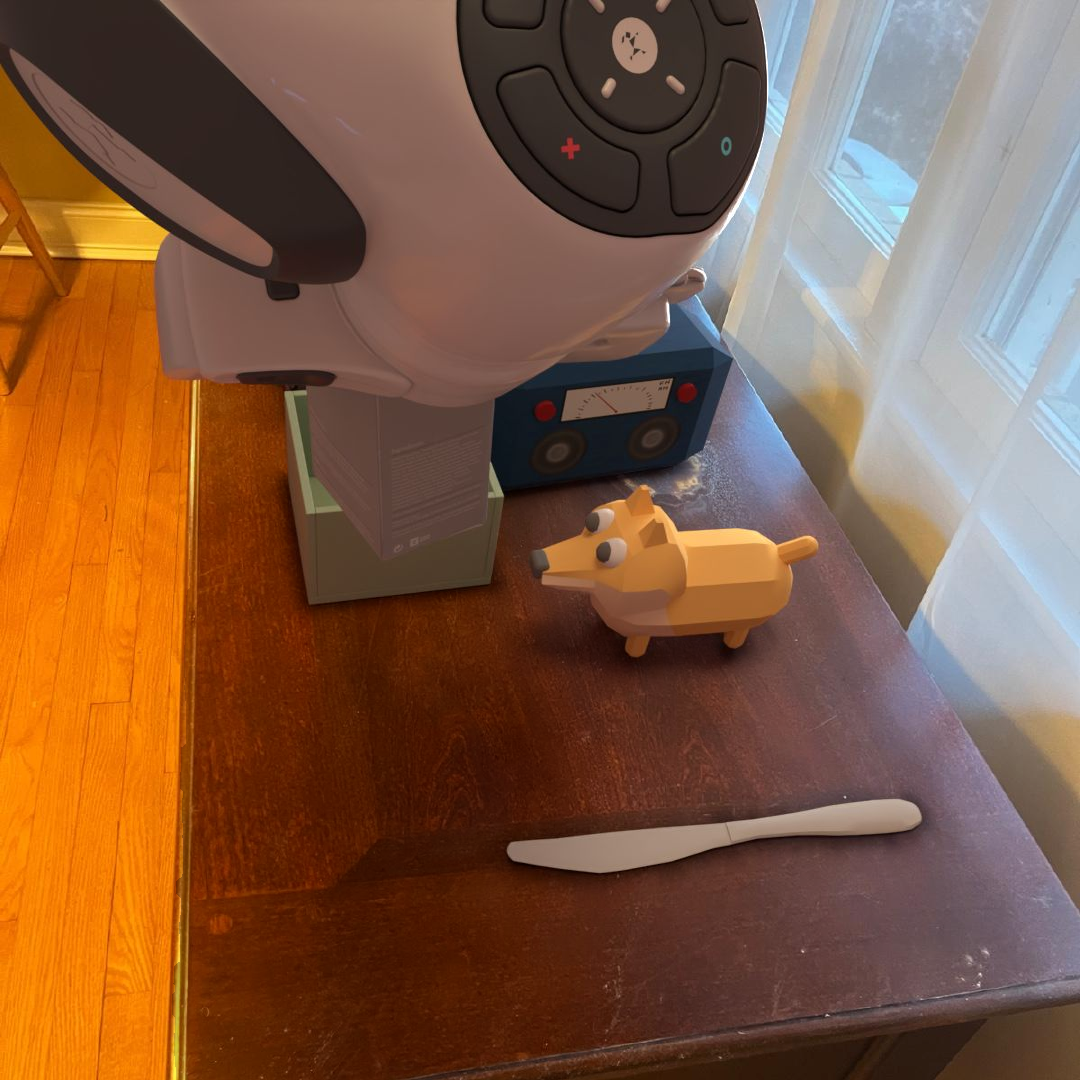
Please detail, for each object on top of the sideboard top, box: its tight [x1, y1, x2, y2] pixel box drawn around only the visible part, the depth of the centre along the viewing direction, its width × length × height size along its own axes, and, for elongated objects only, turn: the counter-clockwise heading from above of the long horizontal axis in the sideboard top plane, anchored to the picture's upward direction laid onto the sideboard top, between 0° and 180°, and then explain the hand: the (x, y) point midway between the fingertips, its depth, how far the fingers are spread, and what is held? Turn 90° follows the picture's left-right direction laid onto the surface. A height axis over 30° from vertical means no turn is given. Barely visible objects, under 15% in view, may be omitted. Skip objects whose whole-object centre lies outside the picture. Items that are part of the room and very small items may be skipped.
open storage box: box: [283, 390, 505, 606], centre depth 72 cm, size 13×13×9 cm
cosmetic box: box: [306, 386, 495, 560], centre depth 47 cm, size 8×7×16 cm
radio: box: [490, 303, 734, 492], centre depth 78 cm, size 21×9×20 cm, turn 112°
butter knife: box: [506, 798, 923, 874], centre depth 60 cm, size 1×27×3 cm
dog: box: [528, 484, 819, 658], centre depth 67 cm, size 8×20×13 cm, turn 103°
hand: (392, 351), depth 47 cm, fingers closed on cosmetic box, 7 cm apart
